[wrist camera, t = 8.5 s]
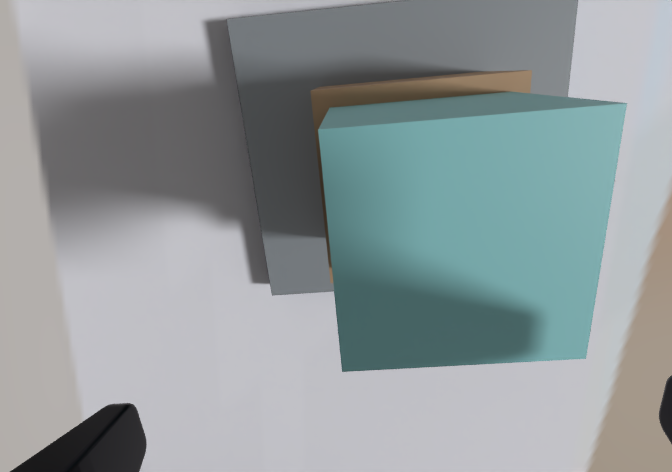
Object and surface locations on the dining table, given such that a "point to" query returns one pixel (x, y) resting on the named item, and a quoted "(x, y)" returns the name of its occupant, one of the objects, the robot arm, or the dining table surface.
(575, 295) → the teal cube
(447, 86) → the walnut base block
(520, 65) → the slate board
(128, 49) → the dining table surface
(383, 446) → the dining table surface
